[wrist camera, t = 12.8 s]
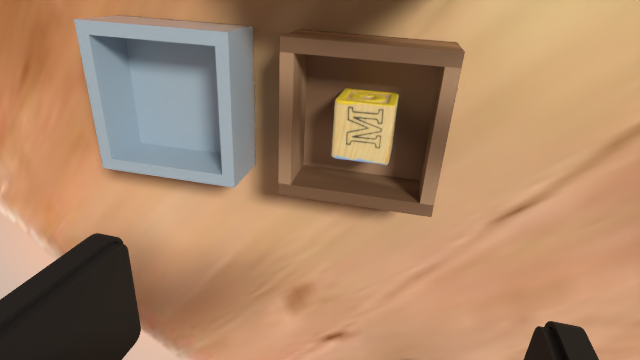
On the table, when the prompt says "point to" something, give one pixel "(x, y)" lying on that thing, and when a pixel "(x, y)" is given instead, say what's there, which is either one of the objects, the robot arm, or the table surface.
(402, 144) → the walnut box
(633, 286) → the table surface
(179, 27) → the slate box
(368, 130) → the alphabet block
